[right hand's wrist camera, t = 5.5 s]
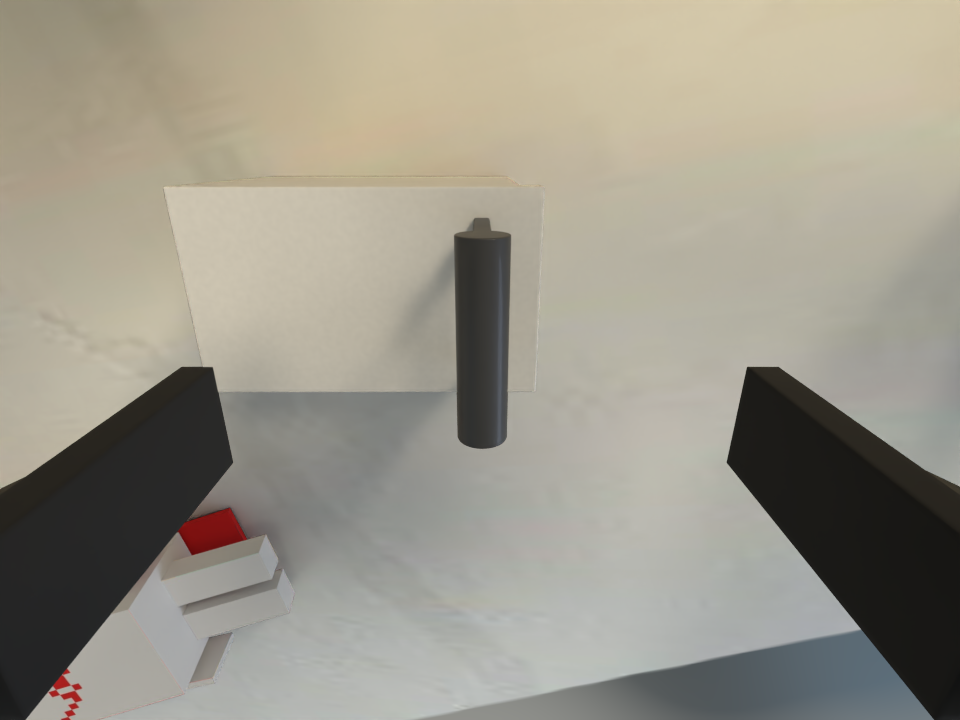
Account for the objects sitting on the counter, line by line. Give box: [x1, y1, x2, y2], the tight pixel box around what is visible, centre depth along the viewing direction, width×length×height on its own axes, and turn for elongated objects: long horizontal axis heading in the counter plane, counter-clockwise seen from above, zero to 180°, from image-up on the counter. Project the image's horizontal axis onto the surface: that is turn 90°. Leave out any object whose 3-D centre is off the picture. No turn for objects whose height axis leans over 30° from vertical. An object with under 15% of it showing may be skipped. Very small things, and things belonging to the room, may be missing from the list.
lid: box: [163, 185, 545, 449], centre depth 21 cm, size 16×10×8 cm, turn 90°
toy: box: [26, 508, 295, 720], centre depth 41 cm, size 12×13×30 cm
